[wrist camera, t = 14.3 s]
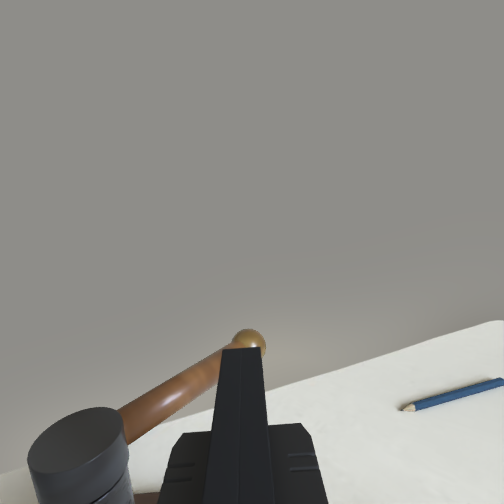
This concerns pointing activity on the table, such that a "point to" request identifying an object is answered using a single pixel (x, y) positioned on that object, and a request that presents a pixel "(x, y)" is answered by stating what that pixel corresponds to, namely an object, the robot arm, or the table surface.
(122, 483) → the valve stand
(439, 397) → the pencil
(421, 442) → the table surface
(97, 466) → the handle
